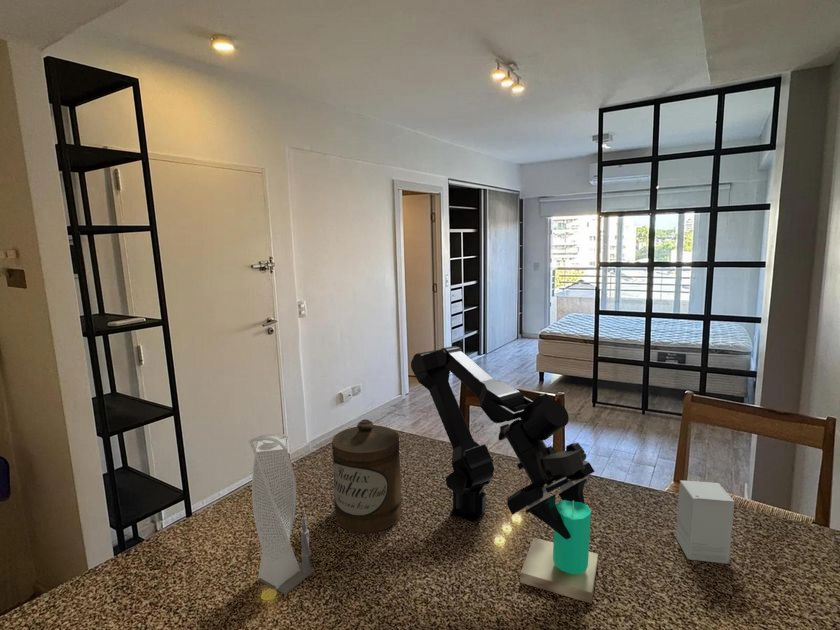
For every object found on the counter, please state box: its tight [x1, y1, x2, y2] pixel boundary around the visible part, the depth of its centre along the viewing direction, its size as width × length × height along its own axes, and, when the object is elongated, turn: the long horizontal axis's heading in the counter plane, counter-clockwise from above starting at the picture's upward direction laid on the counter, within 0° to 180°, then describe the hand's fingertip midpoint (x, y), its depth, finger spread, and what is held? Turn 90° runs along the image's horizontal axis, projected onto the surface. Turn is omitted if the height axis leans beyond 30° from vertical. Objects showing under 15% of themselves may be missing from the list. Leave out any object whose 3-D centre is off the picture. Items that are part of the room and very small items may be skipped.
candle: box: [553, 499, 592, 574], centre depth 84 cm, size 6×6×12 cm
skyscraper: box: [248, 433, 315, 595], centre depth 85 cm, size 8×8×28 cm
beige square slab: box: [519, 537, 599, 604], centre depth 87 cm, size 12×11×2 cm
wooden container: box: [331, 419, 403, 534], centre depth 105 cm, size 15×15×22 cm
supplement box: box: [675, 480, 736, 565], centre depth 92 cm, size 7×7×13 cm
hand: (578, 532), depth 83 cm, fingers closed on candle, 5 cm apart
